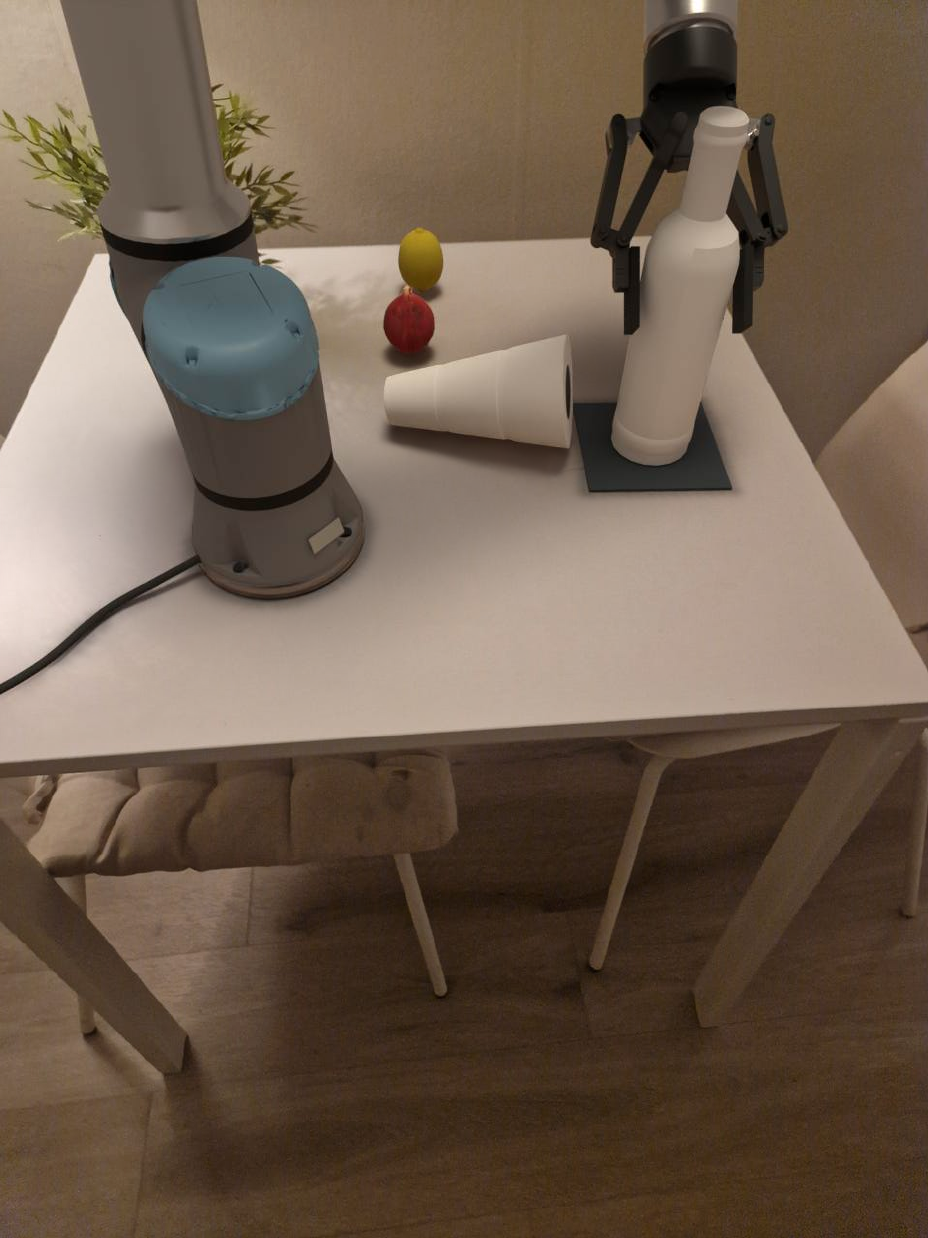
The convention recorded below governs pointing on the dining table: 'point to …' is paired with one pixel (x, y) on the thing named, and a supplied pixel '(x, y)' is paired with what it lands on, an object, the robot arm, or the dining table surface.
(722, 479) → the mat
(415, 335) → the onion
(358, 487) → the dining table surface
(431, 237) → the lemon
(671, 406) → the bottle
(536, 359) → the cup
